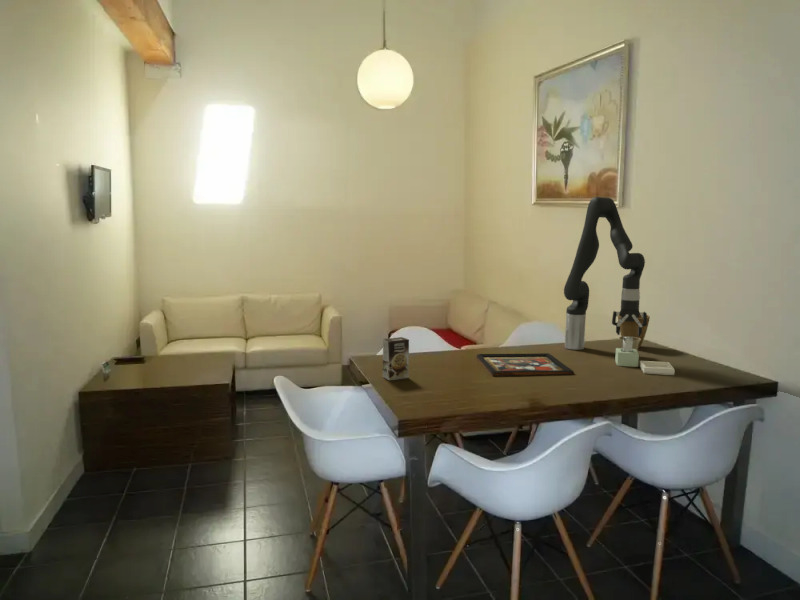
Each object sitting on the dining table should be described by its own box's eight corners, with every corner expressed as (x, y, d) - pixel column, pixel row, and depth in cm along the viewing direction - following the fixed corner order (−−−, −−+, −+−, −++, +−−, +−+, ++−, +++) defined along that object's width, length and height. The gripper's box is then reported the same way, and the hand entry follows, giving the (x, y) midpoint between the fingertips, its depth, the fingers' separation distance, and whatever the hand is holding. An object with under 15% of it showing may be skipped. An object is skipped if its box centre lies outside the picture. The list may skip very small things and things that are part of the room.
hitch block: (617, 365, 274) (618, 352, 273) (615, 360, 282) (615, 348, 281) (638, 366, 272) (638, 353, 271) (635, 362, 280) (636, 349, 279)
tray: (643, 373, 261) (644, 367, 261) (639, 366, 273) (639, 360, 272) (674, 375, 259) (674, 369, 258) (668, 367, 270) (668, 362, 270)
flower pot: (636, 354, 295) (637, 336, 293) (642, 359, 286) (643, 340, 284) (616, 353, 296) (617, 335, 294) (621, 358, 286) (622, 340, 285)
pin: (622, 364, 275) (623, 338, 274) (621, 362, 279) (622, 336, 277) (631, 365, 274) (633, 338, 273) (630, 363, 278) (632, 336, 276)
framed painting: (495, 379, 252) (496, 373, 252) (468, 359, 286) (468, 353, 286) (581, 376, 260) (582, 369, 260) (545, 356, 294) (545, 350, 294)
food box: (389, 380, 249) (389, 341, 247) (382, 377, 255) (382, 338, 252) (409, 378, 253) (409, 339, 251) (402, 374, 259) (402, 336, 256)
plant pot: (639, 343, 318) (641, 312, 315) (653, 350, 303) (655, 317, 301) (611, 343, 317) (613, 312, 315) (623, 350, 302) (625, 318, 300)
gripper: (646, 297, 275) (644, 333, 277) (612, 297, 278) (610, 332, 280) (649, 300, 267) (647, 337, 270) (614, 299, 270) (612, 336, 273)
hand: (628, 334), depth 275 cm, fingers open, 8 cm apart
